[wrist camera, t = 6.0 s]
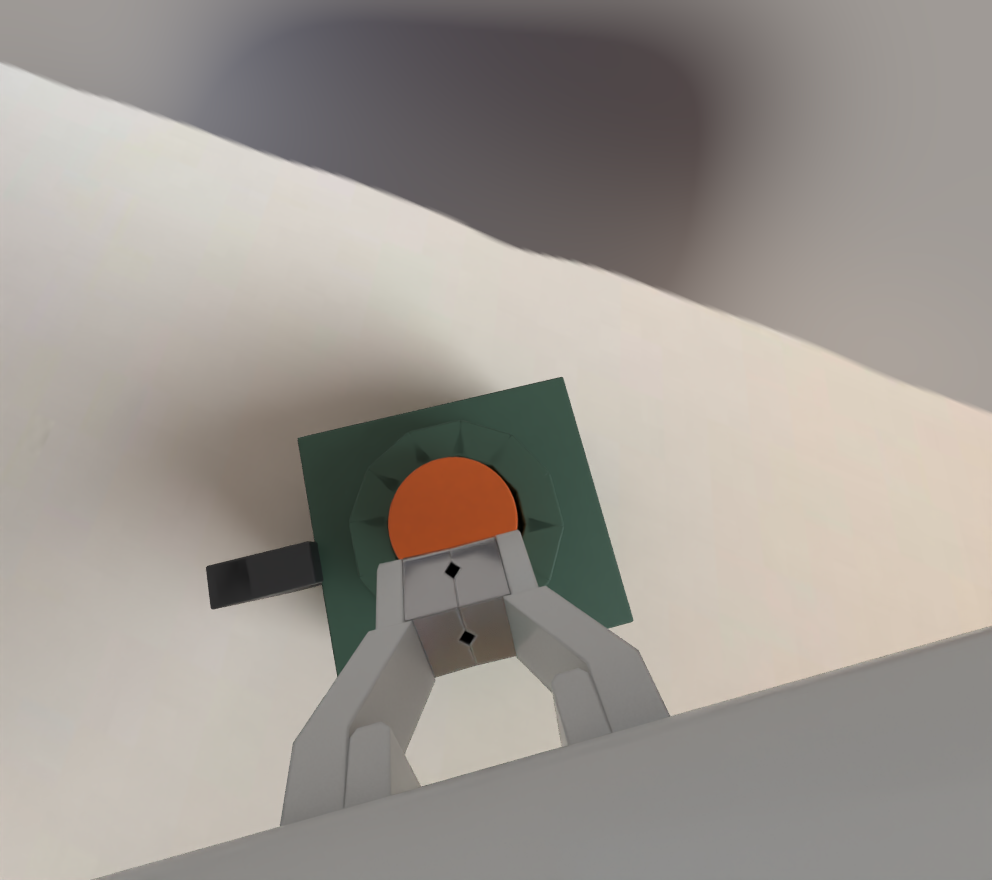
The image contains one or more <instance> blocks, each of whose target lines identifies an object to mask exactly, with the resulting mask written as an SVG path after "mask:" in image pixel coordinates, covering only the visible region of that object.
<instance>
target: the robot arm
mask: <svg viewBox="0 0 992 880" xmlns="http://www.w3.org/2000/svg"><path fill="white" fill-rule="evenodd" d="M514 656H517V658H518V659H519V660H520V661H521V662H522V663H523V664H524V665H525V666H526V667H527V668H528V669H529V670H530V671H531V672H532V673H533V674H534V675H535V676H536V677H537V678H538V679H539V680H540V681H541V682H542V683H543V684H544V685H545V686H546V687H547V688H548V689H549V690H550V691H551V692H552V693H553V699H554V705H555V711H556V717H557V723H558V729H559V735H560V741H561V746H562V747H560V748H556V749H553V750H549V751H546V752H542V753H539V754H535V755H532V756H528V757H524V758H521V759H517V760H514V761H510V762H507V763H503V764H500V765H496V766H493V767H489V768H486V769H482V770H479V771H475V772H471V773H468V774H464V775H461V776H457V777H454V778H450V779H447V780H443V781H440V782H436V783H433V784H429V785H426V786H422V787H421V785H420V783H419V782H418V780H417V778H416V776H415V774H414V772H413V770H412V768H411V766H410V764H409V762H408V761H407V759H406V757H405V755H404V754H405V752H406V750H407V747H408V745H409V742H410V740H411V738H412V735H413V733H414V730H415V728H416V726H417V723H418V721H419V719H420V716H421V714H422V711H423V709H424V707H425V704H426V702H427V699H428V697H429V695H430V692H431V690H432V687H433V685H434V683H435V677H439V676H442V675H446V674H449V673H452V672H456V671H459V670H462V669H466V668H469V667H472V666H476V665H480V664H484V663H489V662H493V661H497V660H501V659H505V658H510V657H514ZM92 880H992V626H989V627H985V628H982V629H978V630H975V631H971V632H968V633H964V634H961V635H957V636H953V637H950V638H946V639H943V640H939V641H936V642H932V643H929V644H925V645H922V646H918V647H914V648H911V649H907V650H904V651H900V652H897V653H893V654H890V655H886V656H883V657H879V658H875V659H872V660H868V661H865V662H861V663H858V664H854V665H851V666H847V667H844V668H840V669H836V670H833V671H829V672H826V673H822V674H819V675H815V676H812V677H808V678H805V679H801V680H798V681H794V682H790V683H787V684H783V685H780V686H776V687H773V688H769V689H766V690H762V691H759V692H755V693H751V694H748V695H744V696H741V697H737V698H734V699H730V700H727V701H723V702H720V703H716V704H712V705H709V706H705V707H702V708H698V709H695V710H691V711H688V712H684V713H681V714H677V715H673V716H670V715H669V713H668V711H667V708H666V706H665V704H664V702H663V700H662V698H661V696H660V694H659V692H658V690H657V688H656V686H655V684H654V682H653V679H652V677H651V675H650V673H649V671H648V669H647V667H646V665H645V663H644V661H643V659H642V657H641V655H640V652H639V650H637V649H636V648H634V647H633V646H632V645H630V644H629V643H627V642H626V641H624V640H623V639H622V638H620V637H619V636H617V635H616V634H614V633H613V632H611V631H610V630H609V629H607V628H606V627H604V626H603V625H601V624H600V623H598V622H597V621H596V620H594V619H593V618H591V617H590V616H588V615H587V614H586V613H584V612H583V611H581V610H580V609H578V608H577V607H575V606H574V605H573V604H571V603H570V602H568V601H567V600H565V599H564V598H563V597H561V596H560V595H558V594H557V593H555V592H554V591H552V590H551V589H550V588H548V587H547V586H542V587H538V584H537V581H536V578H535V575H534V572H533V569H532V566H531V563H530V560H529V557H528V554H527V551H526V548H525V545H524V542H523V539H522V536H521V533H520V531H519V530H518V529H517V530H514V531H510V532H506V533H502V534H499V535H496V538H495V536H492V537H488V538H484V539H480V540H476V541H472V542H468V543H465V544H461V545H457V546H453V547H450V548H446V549H441V550H437V551H432V552H428V553H423V554H419V555H415V556H410V557H406V558H403V559H400V560H395V561H390V562H386V563H381V564H379V566H378V569H377V594H376V630H372V631H368V633H367V634H366V636H365V637H364V639H363V640H362V642H361V643H360V645H359V646H358V648H357V649H356V650H355V652H354V653H353V655H352V656H351V658H350V659H349V661H348V662H347V664H346V665H345V667H344V668H343V670H342V671H341V673H340V674H339V676H338V677H337V679H336V680H335V682H334V683H333V685H332V686H331V688H330V689H329V690H328V692H327V693H326V695H325V696H324V698H323V699H322V701H321V702H320V704H319V705H318V707H317V708H316V710H315V711H314V713H313V714H312V716H311V717H310V719H309V720H308V722H307V723H306V725H305V726H304V728H303V729H302V730H301V732H300V733H299V735H298V736H297V738H296V739H295V741H294V742H293V747H292V753H291V760H290V766H289V772H288V779H287V785H286V791H285V797H284V804H283V810H282V816H281V823H280V827H277V828H273V829H270V830H266V831H263V832H259V833H256V834H252V835H248V836H245V837H241V838H238V839H234V840H231V841H227V842H224V843H220V844H217V845H213V846H209V847H206V848H202V849H199V850H195V851H192V852H188V853H185V854H181V855H177V856H174V857H170V858H167V859H163V860H160V861H156V862H153V863H149V864H146V865H142V866H138V867H135V868H131V869H128V870H124V871H121V872H117V873H114V874H110V875H107V876H103V877H99V878H96V879H92Z"/></svg>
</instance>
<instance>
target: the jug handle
mask: <svg viewBox="0 0 992 880" xmlns="http://www.w3.org/2000/svg"><path fill="white" fill-rule="evenodd" d="M206 572H207V580H208V589H209V597H210V605H211V609H218V608H222V607H227V606H232V605H236V604H241V603H245V602H250V601H255V600H259V599H264V598H269V597H273V596H278V595H282V594H287V593H292V592H296V591H299V590H303V589H307V588H311V587H315V586H319V585H322V582H323V580H324V579H323V574H322V568H321V562H320V556H319V550H318V544H317V542H309V541H307V542H303V543H299V544H295V545H291V546H287V547H283V548H279V549H275V550H270V551H266V552H262V553H258V554H254V555H250V556H246V557H242V558H238V559H234V560H230V561H226V562H221V563H217V564H213V565H209V566H207V567H206Z"/></svg>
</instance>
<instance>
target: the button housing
mask: <svg viewBox="0 0 992 880" xmlns="http://www.w3.org/2000/svg"><path fill="white" fill-rule="evenodd" d="M298 445H299V451H300V457H301V463H302V469H303V475H304V481H305V487H306V493H307V499H308V505H309V511H310V517H311V523H312V529H313V534H314V540H315V542H317V544H318V550H319V556H320V562H321V568H322V574H323V579H324V580H323V582H322V588H323V594H324V600H325V606H326V612H327V618H328V624H329V630H330V636H331V642H332V648H333V654H334V660H335V666H336V672H337V677H338V676H339V674H340V673H341V671H342V670H343V668H344V667H345V665H346V664H347V662H348V661H349V659H350V658H351V656H352V655H353V653H354V652H355V650H356V649H357V648H358V646H359V645H360V643H361V642H362V640H363V639H364V637H365V636H366V634H367V633H368V631H372V630H376V594H377V569H378V566H379V564H381V563H386V562H390V561H395V560H399V559H398V557H397V556H396V554H395V552H394V550H393V547H392V545H391V541H390V537H389V531H388V517H389V510H390V506H391V502H392V500H393V497H394V495H395V493H396V491H397V489H398V488H399V486H400V485H401V484H402V482H403V481H404V480H405V479H406V478H407V477H408V476H409V474H411V473H412V472H413V471H414V470H416V469H417V468H419V467H420V466H422V465H424V464H426V463H428V462H430V461H433V460H436V459H440V458H446V457H463V458H468V459H472V460H475V461H478V462H480V463H482V464H484V465H486V466H488V467H489V468H491V469H492V470H493V471H495V472H496V473H497V474H498V475H499V476H500V477H501V478H502V479H503V481H504V482H505V483H506V485H507V486H508V488H509V489H510V491H511V494H512V496H513V498H514V501H515V504H516V509H517V516H518V526H517V529H518V530H519V531H520V533H521V536H522V539H523V542H524V545H525V548H526V551H527V554H528V557H529V560H530V563H531V566H532V569H533V572H534V575H535V578H536V581H537V584H538V587H542V586H547V587H548V588H550V589H551V590H552V591H554V592H555V593H557V594H558V595H560V596H561V597H563V598H564V599H565V600H567V601H568V602H570V603H571V604H573V605H574V606H575V607H577V608H578V609H580V610H581V611H583V612H584V613H586V614H587V615H588V616H590V617H591V618H593V619H594V620H596V621H597V622H598V623H600V624H601V625H603V626H604V627H606V628H607V629H608V628H612V627H615V626H619V625H623V624H627V623H630V622H633V617H632V614H631V610H630V607H629V603H628V600H627V596H626V593H625V590H624V586H623V583H622V579H621V576H620V572H619V569H618V565H617V562H616V559H615V555H614V552H613V548H612V545H611V541H610V538H609V534H608V531H607V527H606V524H605V521H604V517H603V514H602V510H601V507H600V503H599V500H598V496H597V493H596V490H595V486H594V483H593V479H592V476H591V472H590V469H589V465H588V462H587V459H586V455H585V452H584V448H583V445H582V441H581V438H580V434H579V431H578V428H577V424H576V421H575V417H574V414H573V410H572V407H571V403H570V400H569V397H568V393H567V390H566V386H565V383H564V379H563V377H559V378H555V379H550V380H546V381H542V382H537V383H533V384H529V385H524V386H520V387H516V388H511V389H507V390H503V391H498V392H494V393H490V394H486V395H481V396H477V397H473V398H468V399H464V400H460V401H455V402H451V403H447V404H442V405H438V406H434V407H429V408H425V409H421V410H416V411H412V412H408V413H403V414H399V415H395V416H390V417H386V418H382V419H377V420H373V421H369V422H364V423H360V424H356V425H351V426H347V427H343V428H338V429H334V430H330V431H325V432H321V433H317V434H312V435H308V436H304V437H299V438H298Z"/></svg>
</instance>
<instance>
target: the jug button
mask: <svg viewBox="0 0 992 880" xmlns="http://www.w3.org/2000/svg"><path fill="white" fill-rule="evenodd" d="M517 526H518V516H517V509H516V504H515V501H514V498H513V496H512V494H511V491H510V489H509V488H508V486H507V485H506V483H505V482H504V481H503V479H502V478H501V477H500V476H499V475H498V474H497V473H496V472H495V471H493V470H492V469H491V468H489V467H488V466H486V465H484V464H482V463H480V462H478V461H475V460H472V459H468V458H463V457H446V458H440V459H436V460H433V461H430V462H428V463H426V464H424V465H422V466H420V467H419V468H417V469H416V470H414V471H413V472H412V473H411V474H409V476H408V477H407V478H406V479H405V480H404V481H403V482H402V484H401V485H400V486H399V488H398V489H397V491H396V493H395V495H394V497H393V500H392V502H391V506H390V510H389V517H388V531H389V537H390V541H391V545H392V547H393V550H394V552H395V554H396V556H397V557H398V559H399V560H400V559H403V558H406V557H410V556H415V555H419V554H423V553H428V552H432V551H437V550H441V549H446V548H450V547H453V546H457V545H461V544H465V543H468V542H472V541H476V540H480V539H484V538H488V537H492V536H495V538H496V535H499V534H502V533H506V532H510V531H514V530H517Z"/></svg>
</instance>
